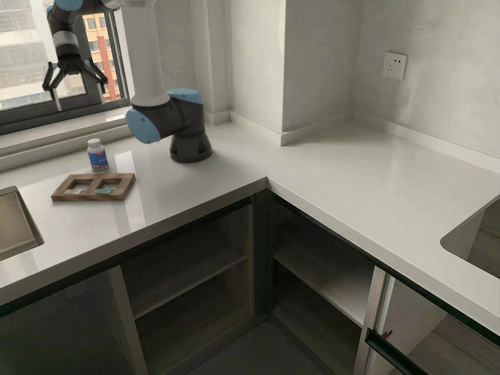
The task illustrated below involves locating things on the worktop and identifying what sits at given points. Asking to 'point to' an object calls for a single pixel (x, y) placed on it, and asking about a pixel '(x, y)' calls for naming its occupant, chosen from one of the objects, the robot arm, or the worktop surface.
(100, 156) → the pill bottle
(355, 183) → the worktop surface
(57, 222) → the worktop surface
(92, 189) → the socket plate
